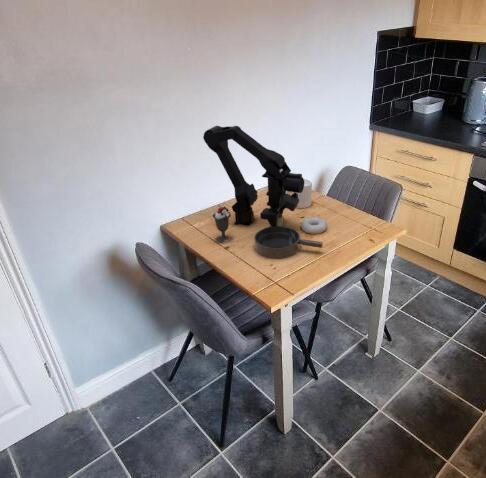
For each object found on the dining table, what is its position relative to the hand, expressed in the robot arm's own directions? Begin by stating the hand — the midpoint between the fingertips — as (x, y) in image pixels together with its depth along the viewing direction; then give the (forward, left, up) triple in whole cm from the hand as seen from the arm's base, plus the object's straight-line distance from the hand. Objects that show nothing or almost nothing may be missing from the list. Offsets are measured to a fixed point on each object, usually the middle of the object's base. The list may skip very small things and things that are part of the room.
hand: (276, 226), depth 167 cm
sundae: (-16, -14, -1) cm, 21 cm away
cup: (+2, +22, -1) cm, 22 cm away
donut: (+14, +3, -1) cm, 14 cm away
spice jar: (0, 0, -1) cm, 1 cm away
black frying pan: (+5, -14, -1) cm, 15 cm away
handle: (+17, -14, +2) cm, 22 cm away
